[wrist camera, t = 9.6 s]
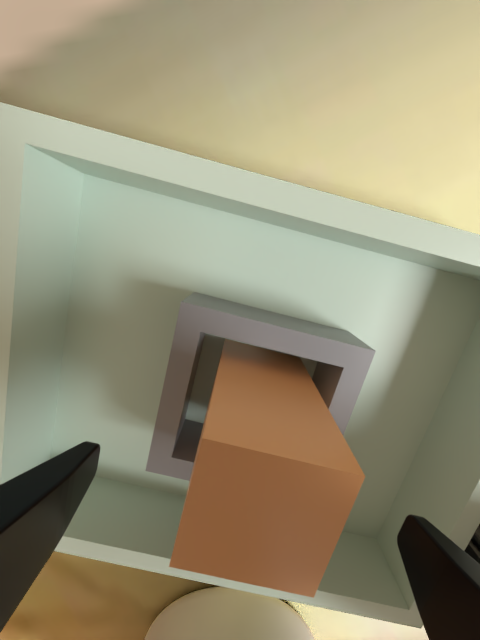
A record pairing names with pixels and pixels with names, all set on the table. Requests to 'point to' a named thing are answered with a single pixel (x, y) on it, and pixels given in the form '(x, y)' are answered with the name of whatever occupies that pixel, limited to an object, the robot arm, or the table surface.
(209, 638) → the cylinder vase
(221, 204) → the walled crate
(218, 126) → the table surface
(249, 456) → the tan rectangular prism
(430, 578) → the robot arm
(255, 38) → the table surface
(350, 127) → the table surface
